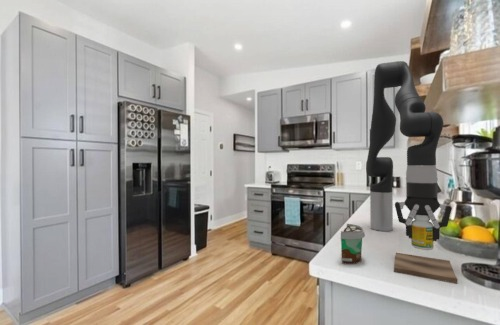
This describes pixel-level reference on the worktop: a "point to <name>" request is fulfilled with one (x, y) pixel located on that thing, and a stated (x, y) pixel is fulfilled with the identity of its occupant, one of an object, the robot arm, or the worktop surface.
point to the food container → (351, 244)
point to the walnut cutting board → (424, 267)
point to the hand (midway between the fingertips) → (422, 238)
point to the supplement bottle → (422, 232)
